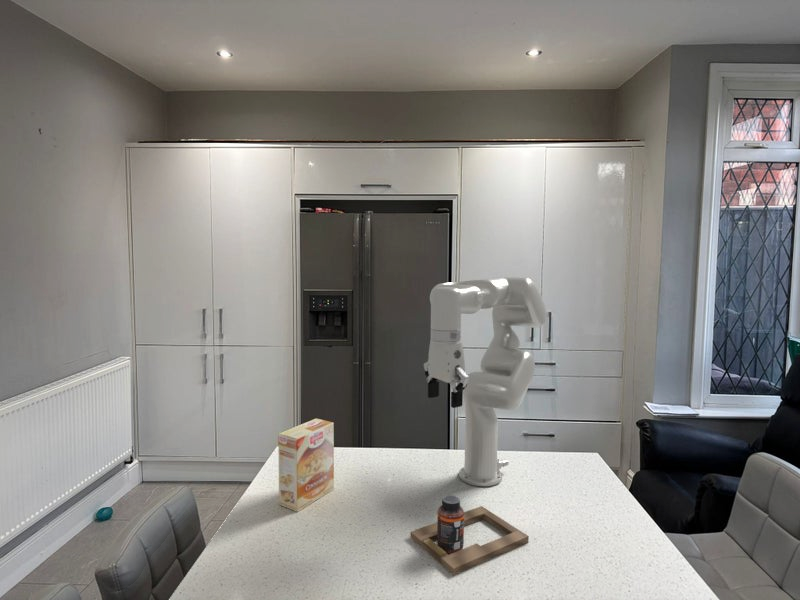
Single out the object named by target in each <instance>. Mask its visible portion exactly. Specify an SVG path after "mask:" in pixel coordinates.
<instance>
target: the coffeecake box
mask: <svg viewBox="0 0 800 600" xmlns="http://www.w3.org/2000/svg"><path fill="white" fill-rule="evenodd" d="M334 424H335V423H334V422H333V421H330V420H329V421H328V420H325V419H320V418H314V419H312V420H309V421H307V422H304V423H302V424H299V425H296V426H294V427H292V428H289V429H287V430H285V431H283V432H282V431H281V432H279V433H278V434H277V438H278V441H277V443H278V447H277V448H278V449H277V451H278V505H279V506H281V505H282V506H281V507H285V508H286V507H287V509H289V508H290V509H289V510H291V509H292V510H291V511H293V510H294V511H293V512H296V511H297V512H296V513H298V511H299V512H300V511H302V510H304V509H305V508H306V507H308V506H310V505H311V504H312V503H315V502H316V501H317V500H319V499H321V498H323V496H325V495H327V494H328V493H330V492H331V491H334V489H335V486H334V485H335V480H334V479H335V473H334V472H335V467H334V466H335V462H334V461H335V458H334V457H335V455H334V453H335V452H334V451H335V449H334V448H335V447H334V445H335V443H334V442H335V438H334V437H335V435H334V433H335V432H334V428H335V427H334V426H335V425H334Z"/></svg>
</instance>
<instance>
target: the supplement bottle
mask: <svg viewBox="0 0 800 600" xmlns="http://www.w3.org/2000/svg"><path fill="white" fill-rule="evenodd" d="M441 500H442V501H441V505H440V506H439V507H438V509H437V522H438V524H437V541H436V542H437V543H436V544H437V545H438V546H439V547H440V548H441V549H443V550H444V551H445V552H446V553H447V554H452V553H455V552H457V551H459V550H462V549H464V541H465V539H464V535H465V533H464V532H465V526H464V512H465V511H464V510H465V509H464V508H463V507H462V506H461V499H460V497H458V496H455V495H453V494H452V495H451V494H450V495H448V494H447V495H445V496H443V497H442V498H441Z"/></svg>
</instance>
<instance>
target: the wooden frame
mask: <svg viewBox="0 0 800 600" xmlns="http://www.w3.org/2000/svg"><path fill="white" fill-rule="evenodd" d="M483 520H484V521H486V522H487V523H488V524H490V525H491V526H493V527H494V528H496V529H498V530H499V529H500V530H499V531H501V532H502V531H503V532H502V533H503V534H505V535H504V536H501V537H498V538H496V539H494V540H491V541H489V542H487V543H484V544H482V545H480V544H479V543H474V544H472V545H469V546H467V547H463V549H462V550H459V551H457V552H455V553H446V552H445V551H444V550H443V549H441V548H440V547H439V546H438V545H437V543H435V542H437V524H438V521H436V522H433V523H431V524H428V525H425V526H422V527H419V528H417V529H414V530H411V531H410V539H411V540H412V541H414V542H415V543H416V544H417V545H418V546H419V547H421V549H423V550H424V551H425V552H426V553H427V554H428V555H430V556H431V557H432V558H433V559H434V560H435V561H436V562H438V563H439V564H440V565H441V566H442V567H444V569H445V570H447V571H448V572H449V573H450V574H451V575H452V576H455V575H458V574H460V573H462V572H464V571H467V570H469V569H471V568H473V567H476V566H477V565H480V564H482V563H485V562H487V561H490V560H491V559H494V558H496V557H498V556H501V555H503V554H506V553H507V552H510V551H512V550H514V549H515V550H516V548H519V547H522V546H523V545H526V544H528V543H529V535H527V534H526V533H525V532H523V531H522V530H520V529H518V528H516V527H515V526H514V525H512V524H510V523H509V522H507V521H506V520H504V519H503V518H501V517H499V516H498V515H497V514H495V513H494V512H491V511H490V510H489V509H487V508H485V507H484V506H483V505H481V506H478V507H476V508H471V509H469V510H467V511H464V527H466V526H469V525H471V524H475V523H477V522H480V521H483ZM476 521H477V522H476ZM474 522H475V523H474ZM506 534H507V535H506Z"/></svg>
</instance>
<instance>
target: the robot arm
mask: <svg viewBox="0 0 800 600" xmlns="http://www.w3.org/2000/svg"><path fill="white" fill-rule="evenodd" d="M429 301H430V302H429V303H430V341H429V342H430V343H429V347H428V348H429V349H428V356H427V357H428V360H427V361H426V362H424V363H423V369H424V375H425V376H426V382H427V398H428V399H432V398H438V397H439V396H440V382H439V381H442V382H444V383H448V384H449V385H450V387H451V389H452V391H451V392H450V395H451V396H450V407H451V408H452V409H454V408H455V409H456V408H459V407H463V402H464V409H465V410H464V412H465V414H464V417H465V418H464V422H465V423H464V431H465V432H464V466H463V467H461V468H460V469H459V471H458V472H459V473H458V476H459V478H460V479H461V481H463V482H464V483H466V484H469V485H471V486H477V487H491V486H492V487H493V486H496V485H498V484H499V483H501V482H502V480H503V474H502V473H503V472H501V471H500V469H502V468H503V467H507V466H509V460H508V459H506V458H505V459H501V460H500V458H498V442H499V441H498V439H499V437H498V433H499V432H498V431H499V419H498V415H497V413H496V411H495V409H497V410H498V409H499V410H503V411H509V412H512V411H515V410H517V409H518V408H519V407H520V406H521V404H522V402H523V400H524V398H525V397H526V396H525V395H526V393H527V391H528V389H529V387H530V384H531V382H532V380H533V377H534V374H535V371H536V370H535V367H536V363H535V358H534V356H533V354H532V353H531V352H528V350H527V351H526V350H524V349H523V350H522V349H519V348H520V346H521V345H520V344H521V343H520V340H519V336H517V334H516V332H515V331H514V329H513V328H512V326H514V327H521V328H522V327H523V328H534V329H535V328H540V327H542V326H543V325H544V324H545V322H546V319H547V308H546V305H545V303H544V301H543V299H542V296H541V293H540V291H539V289H538V288H537V286H536V284H535V282H534V281H533V280H531V278H529V277H517V276H510V277H509V276H499V277H491V278H485V279H483V278H482V279H473V280H465V281H464V280H463V281H453V282H449V281H448V282H444V283H443V282H442V283H438V284H436V285H434V287H433V288H432V289H431V291H430V294H429ZM483 309H484V310H485V309H487V310H488V309H492V310H491V311H492V312H491V313H492V314H491V315H492V317H491V319H492V328H493V337H492V340H491V342H490V343H489V345H488V347H487V349H486V350H485V352H484V355H482V358H481V360H480V371H473V372H472V371H471V372H469V373H468V374H467V373H466V368H465V367H466V366H465V365H466V364H465V353H464V345H463V342H462V341H461V339H462V338H461V329H462V328H461V327H462V323H461V322H462V316H461V315H462V314H465V315H473V314H475V313H478V312H479V311H480V310H483ZM456 384H457V385H456Z"/></svg>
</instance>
